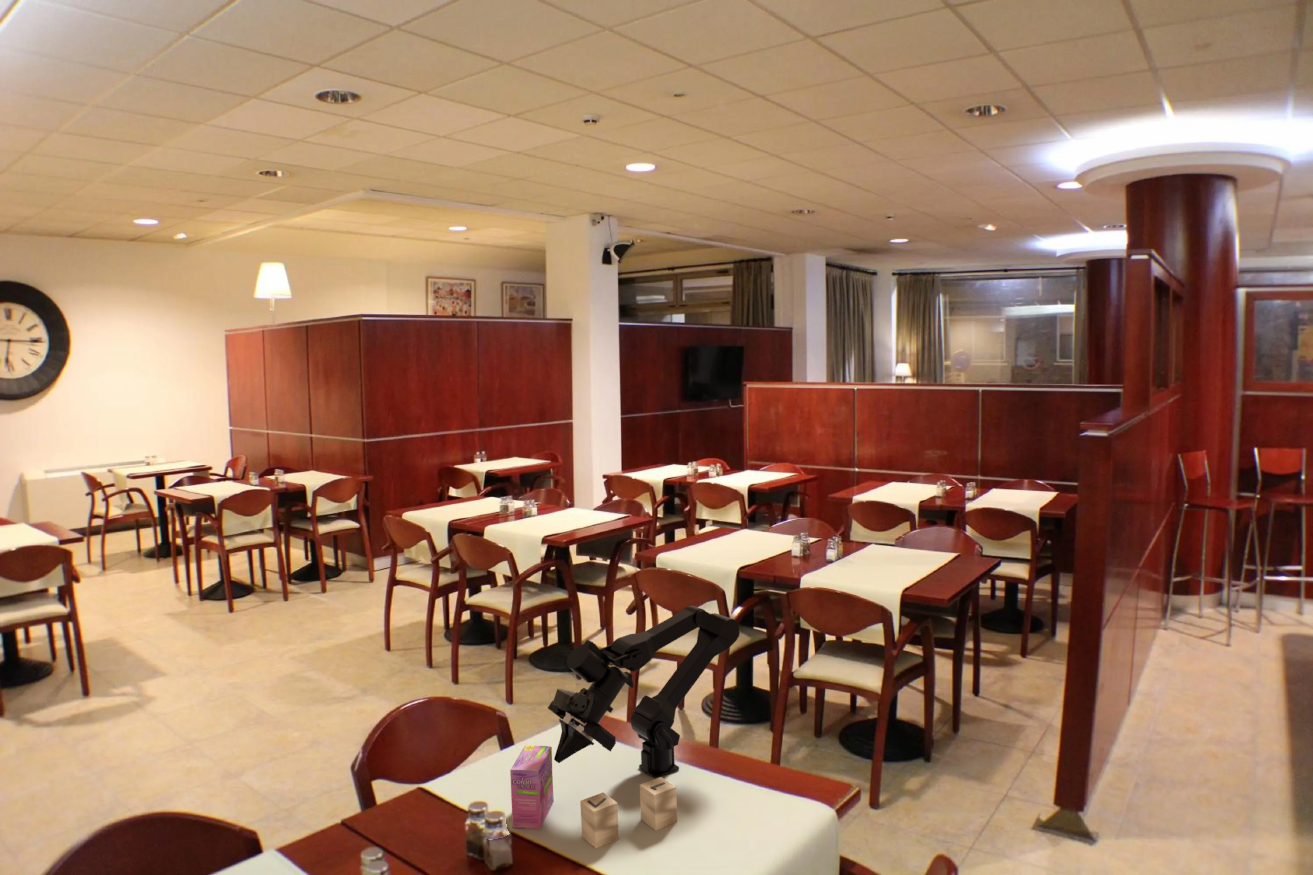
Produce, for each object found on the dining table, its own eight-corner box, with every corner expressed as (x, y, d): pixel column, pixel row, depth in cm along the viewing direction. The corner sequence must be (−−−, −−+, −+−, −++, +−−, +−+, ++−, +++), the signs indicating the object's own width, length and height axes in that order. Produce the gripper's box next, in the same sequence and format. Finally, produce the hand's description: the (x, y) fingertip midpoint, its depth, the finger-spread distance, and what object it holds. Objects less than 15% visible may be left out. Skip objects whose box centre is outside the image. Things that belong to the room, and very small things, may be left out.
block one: (662, 810, 169) (660, 776, 168) (677, 821, 165) (675, 785, 164) (641, 819, 166) (639, 783, 165) (655, 830, 162) (654, 794, 161)
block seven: (604, 827, 164) (603, 791, 163) (618, 838, 160) (617, 802, 159) (582, 836, 161) (580, 800, 160) (595, 848, 157) (594, 810, 156)
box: (541, 829, 164) (538, 770, 163) (512, 828, 164) (509, 769, 163) (554, 801, 174) (552, 745, 173) (527, 800, 175) (524, 744, 174)
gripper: (553, 661, 180) (508, 726, 175) (600, 686, 165) (551, 759, 160) (587, 688, 186) (544, 752, 180) (635, 715, 170) (590, 786, 165)
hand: (556, 761), depth 171 cm, fingers closed
